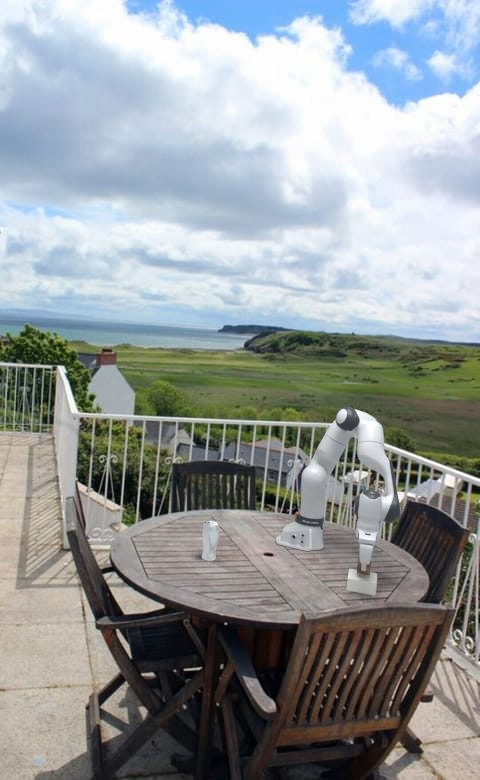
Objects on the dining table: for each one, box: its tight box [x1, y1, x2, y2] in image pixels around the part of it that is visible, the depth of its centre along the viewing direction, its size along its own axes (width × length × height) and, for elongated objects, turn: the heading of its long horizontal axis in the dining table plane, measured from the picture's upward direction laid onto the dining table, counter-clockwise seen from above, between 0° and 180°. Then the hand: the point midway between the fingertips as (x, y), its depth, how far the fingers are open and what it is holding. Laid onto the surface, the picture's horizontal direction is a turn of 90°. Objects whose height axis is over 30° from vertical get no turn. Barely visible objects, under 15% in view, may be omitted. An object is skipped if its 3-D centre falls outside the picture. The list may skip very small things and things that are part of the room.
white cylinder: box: [201, 520, 220, 562], centre depth 237 cm, size 7×7×15 cm
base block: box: [345, 568, 378, 596], centre depth 221 cm, size 11×11×5 cm
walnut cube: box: [356, 555, 372, 576], centre depth 221 cm, size 5×5×5 cm
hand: (363, 567), depth 221 cm, fingers closed on walnut cube, 5 cm apart
